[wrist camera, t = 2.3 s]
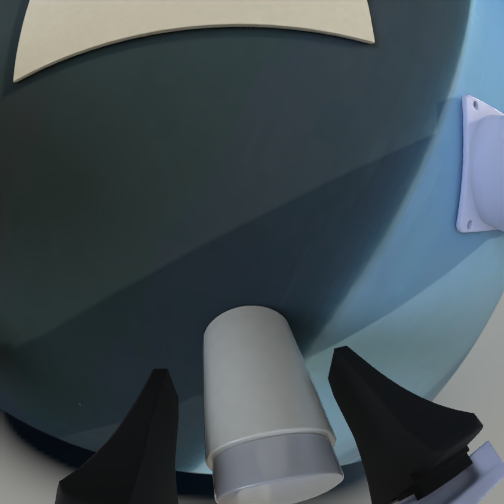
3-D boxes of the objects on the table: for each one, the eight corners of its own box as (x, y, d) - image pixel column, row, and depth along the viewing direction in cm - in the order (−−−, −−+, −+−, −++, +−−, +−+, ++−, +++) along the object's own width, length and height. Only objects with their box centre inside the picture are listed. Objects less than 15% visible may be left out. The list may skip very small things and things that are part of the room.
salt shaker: (293, 299, 12) (368, 454, 5) (289, 365, 14) (334, 494, 7) (196, 309, 12) (194, 485, 4) (209, 374, 13) (219, 513, 6)
